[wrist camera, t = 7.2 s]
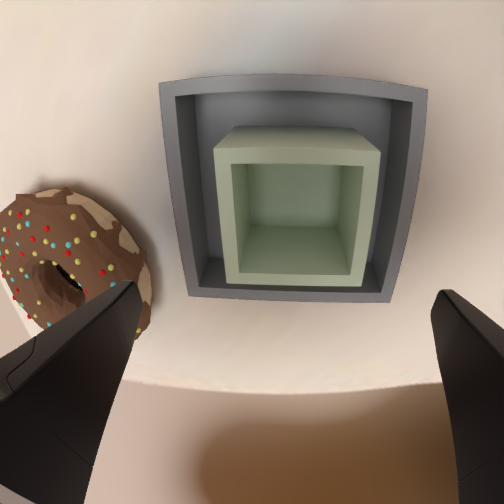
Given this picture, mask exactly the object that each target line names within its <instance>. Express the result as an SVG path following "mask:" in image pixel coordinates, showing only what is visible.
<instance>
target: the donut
mask: <svg viewBox="0 0 504 504" xmlns="http://www.w3.org/2000/svg"><path fill="white" fill-rule="evenodd" d="M57 264H59V265H60V266H61V267H62V268H63V269H64V270H65V271H66V272H67V273H68V274H69V275H70V277H71V278H72V279H74V280H75V281H76V282H77V283H78V285H79V286H81V287H82V289H83V291H82V290H79V289H77V288H76V287H75V286H73V285H72V284H71V283H69V282H68V281H67V280H66V279H65V278H64V277H63V276H62V274H61V273H60V272H59V270H58V269H57V267H56V265H57ZM0 268H1V271H2V273H3V274H2V277H3V278H5V279H6V281H7V283H8V285H9V287H10V289H11V291H12V293H13V295H14V296H13V300H16V301H17V302H18V306H21V307H22V308H23V309H24V310H25V311H26V312H27V313H28V315H27V317H28V319H31V318H32V319H33V320H34V321H35V322H36V323H37V324H38V325H39V326H40V327H41V328H43V329H44V330H45V329H47V328H48V327H50V326H51V325H53V324H54V323H56V322H57V321H59V320H60V319H62V318H63V317H65V316H66V315H68V314H70V313H71V312H73V311H74V310H76V309H77V308H79V307H80V306H82V305H84V304H85V303H87V302H88V301H90V300H91V299H93V298H95V297H96V296H98V295H99V294H101V293H103V292H104V291H106V290H107V289H109V288H111V287H112V286H114V285H115V284H117V283H119V282H120V281H122V280H133V281H135V282H136V283H137V285H138V288H139V291H140V294H141V298H142V301H143V310H142V314H141V317H140V321H139V324H138V328H137V332H136V336H135V340H136V339H138V337H139V336H140V335H141V333H142V332H143V331H144V330H146V329H147V327H148V325H149V323H150V314H151V302H152V288H151V279H150V273H149V270H148V268H147V265H146V251H145V250H143V249H142V248H140V247H138V246H137V245H136V243H135V242H134V240H133V238H132V237H131V235H130V234H129V232H128V231H127V230H126V229H125V228H124V227H123V226H122V225H121V222H119V221H118V220H117V219H116V218H115V217H114V216H113V215H112V214H111V213H110V212H108V211H107V210H105V209H104V208H103V207H101V206H100V205H98V204H97V203H96V202H94V201H93V200H92V199H90V198H87V197H85V196H82V195H80V194H77V193H75V192H73V191H71V190H70V189H69V188H68V187H66V188H64V189H63V190H58V189H50V190H46V191H43V192H39V193H36V194H16V200H15V201H14V202H13V203H11V204H10V205H9V206H8V207H6V208H5V209H4V210H3V211H2V212H0Z"/></svg>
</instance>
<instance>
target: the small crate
mask: <svg viewBox="0 0 504 504" xmlns="http://www.w3.org/2000/svg"><path fill="white" fill-rule="evenodd" d="M213 152H214V163H215V175H216V186H217V196H218V207H219V217H220V227H221V236H222V246H223V255H224V264H225V273H226V282H227V283H230V284H258V285H295V286H361V285H362V280H363V275H364V270H365V265H366V259H367V254H368V248H369V242H370V236H371V229H372V223H373V216H374V209H375V201H376V193H377V185H378V175H379V165H380V155H381V152H380V151H379V150H378V149H377V148H376V147H375V146H374V145H372V144H371V143H370V142H369V141H368V140H367V139H366V138H364V137H363V136H362V135H361V134H360V133H359V132H357V131H356V130H355V129H354V128H339V127H319V126H237V127H234V128H233V129H232V130H231V131H230V132H229V133H228V134H227V135H226V136H225V137H224V138H223V139H222V140H221V141H220V142H219V143H218V144H217V145H216V146H215V147H214V148H213Z"/></svg>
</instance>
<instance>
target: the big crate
mask: <svg viewBox="0 0 504 504" xmlns="http://www.w3.org/2000/svg"><path fill="white" fill-rule="evenodd" d="M159 95H160V106H161V117H162V127H163V136H164V145H165V153H166V161H167V169H168V177H169V184H170V191H171V198H172V205H173V211H174V217H175V224H176V230H177V236H178V242H179V247H180V253H181V259H182V264H183V270H184V275H185V280H186V285H187V290H188V295H189V296H195V297H210V298H227V299H247V300H269V301H298V302H347V303H390V300H391V297H392V294H393V290H394V287H395V283H396V280H397V276H398V273H399V269H400V265H401V261H402V257H403V253H404V249H405V245H406V241H407V236H408V232H409V227H410V223H411V218H412V213H413V208H414V202H415V197H416V191H417V186H418V179H419V173H420V166H421V159H422V151H423V143H424V134H425V124H426V112H427V97H428V89H423V88H418V87H413V86H408V85H402V84H396V83H390V82H383V81H375V80H368V79H359V78H349V77H338V76H324V75H303V74H250V75H229V76H214V77H203V78H193V79H184V80H176V81H169V82H162V83H159ZM237 126H319V127H339V128H354V129H355V130H356V131H357V132H359V133H360V134H361V135H362V136H363V137H364V138H366V139H367V140H368V141H369V142H370V143H371V144H372V145H374V146H375V147H376V148H377V149H378V150H379V151H380V152H381V155H380V165H379V175H378V185H377V193H376V201H375V209H374V216H373V223H372V229H371V236H370V242H369V248H368V254H367V259H366V265H365V270H364V275H363V280H362V285H361V286H295V285H258V284H230V283H227V282H226V273H225V264H224V255H223V246H222V236H221V227H220V217H219V207H218V196H217V186H216V175H215V163H214V152H213V148H214V147H215V146H216V145H217V144H218V143H219V142H220V141H221V140H222V139H223V138H224V137H225V136H226V135H227V134H228V133H229V132H230V131H231V130H232V129H233V128H234V127H237Z"/></svg>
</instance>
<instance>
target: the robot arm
mask: <svg viewBox="0 0 504 504" xmlns="http://www.w3.org/2000/svg"><path fill="white" fill-rule="evenodd" d="M142 310H143V301H142V298H141V294H140V291H139V288H138V285H137V283H136V282H135V281H133V280H122V281H120V282H119V283H117V284H115V285H114V286H112V287H111V288H109V289H107V290H106V291H104V292H103V293H101V294H99V295H98V296H96V297H95V298H93V299H91V300H90V301H88V302H87V303H85V304H84V305H82V306H80V307H79V308H77V309H76V310H74V311H73V312H71V313H70V314H68V315H66V316H65V317H63V318H62V319H60V320H59V321H57V322H56V323H54V324H53V325H51V326H50V327H48V328H47V329H45V330H44V331H42V332H41V333H39V334H38V335H37V336H34V337H33V338H31V339H30V340H29V341H27V342H26V343H24V344H23V345H21V346H19V347H18V348H17V349H15V350H13V351H12V352H10V353H8V354H7V355H5V356H3V357H2V358H0V504H84V500H85V496H86V492H87V488H88V485H89V481H90V477H91V473H92V469H93V467H92V466H94V462H95V459H96V455H97V452H98V448H99V445H100V442H101V438H102V435H103V432H104V429H105V426H106V422H107V419H108V416H109V413H110V410H111V407H112V404H113V401H114V398H115V395H116V393H117V389H118V387H119V384H120V381H121V378H122V376H123V373H124V370H125V367H126V365H127V362H128V359H129V356H130V353H131V351H132V347H133V344H134V340H135V336H136V332H137V328H138V324H139V321H140V317H141V314H142ZM431 323H432V328H433V334H434V340H435V346H436V353H437V359H438V364H439V368H440V373H441V377H442V381H443V385H444V390H445V395H446V400H447V405H448V410H449V416H450V422H451V429H452V434H453V442H454V450H455V458H456V468H457V479H458V497H459V504H504V329H503V328H501V327H500V326H499V325H498V324H496V323H495V322H494V321H493V320H491V319H490V318H489V317H488V316H486V315H485V314H484V313H483V312H481V311H480V310H479V309H477V308H476V307H475V306H473V305H472V304H471V303H470V302H468V301H467V300H466V299H464V298H463V297H462V296H460V295H459V294H457V293H456V292H455V291H453V290H451V289H444V290H440V291H439V292H438V294H437V297H436V300H435V302H434V305H433V307H432V310H431Z"/></svg>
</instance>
